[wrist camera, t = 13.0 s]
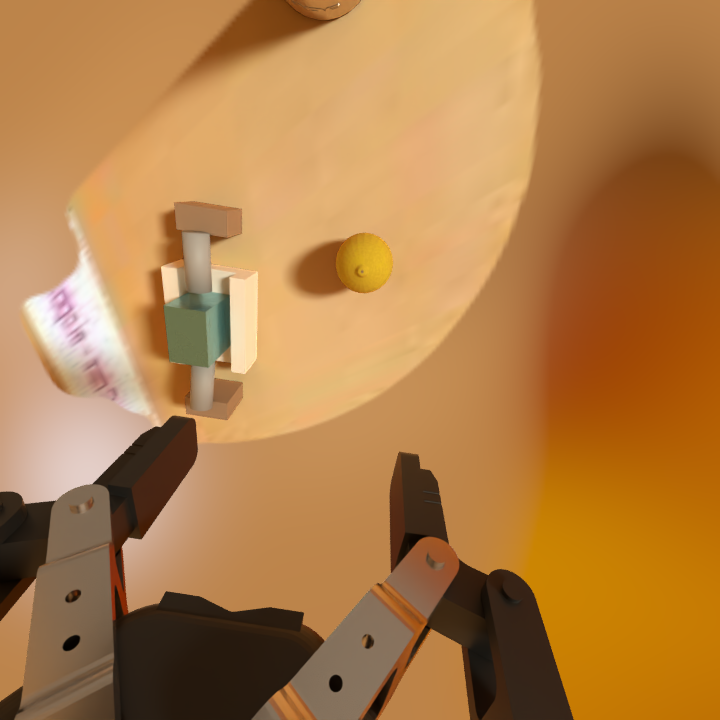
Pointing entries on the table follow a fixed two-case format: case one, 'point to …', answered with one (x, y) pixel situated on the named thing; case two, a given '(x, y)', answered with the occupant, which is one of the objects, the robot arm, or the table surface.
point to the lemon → (364, 262)
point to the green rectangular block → (198, 328)
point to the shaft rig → (204, 278)
